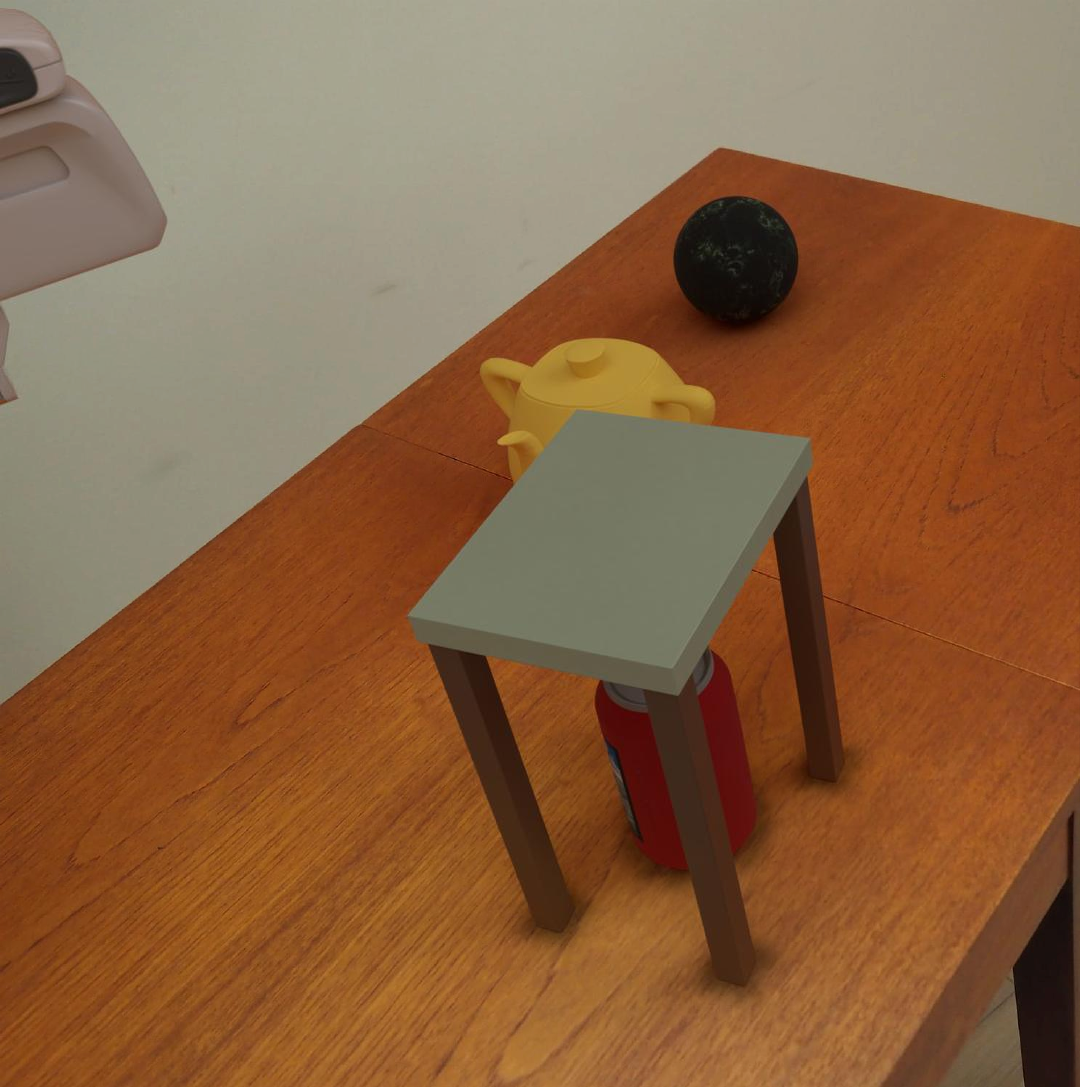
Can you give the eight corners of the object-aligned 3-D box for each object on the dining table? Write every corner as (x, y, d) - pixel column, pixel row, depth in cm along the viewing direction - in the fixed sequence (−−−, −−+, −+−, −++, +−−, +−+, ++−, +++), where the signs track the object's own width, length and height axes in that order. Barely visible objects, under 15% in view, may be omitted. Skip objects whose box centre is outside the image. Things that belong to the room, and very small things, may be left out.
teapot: (491, 478, 100) (448, 338, 93) (673, 417, 103) (645, 276, 96) (541, 586, 90) (496, 439, 82) (742, 514, 93) (716, 365, 85)
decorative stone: (659, 328, 114) (637, 218, 107) (736, 274, 119) (719, 165, 113) (753, 358, 108) (735, 243, 102) (828, 299, 113) (816, 187, 107)
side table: (748, 993, 65) (671, 668, 51) (528, 929, 69) (406, 615, 56) (851, 759, 75) (810, 437, 61) (654, 717, 79) (576, 408, 66)
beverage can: (668, 765, 76) (628, 605, 69) (779, 795, 73) (750, 632, 66) (610, 859, 72) (560, 699, 64) (726, 895, 69) (688, 732, 61)
